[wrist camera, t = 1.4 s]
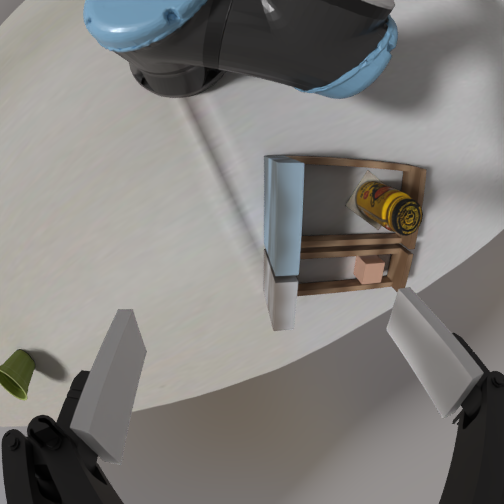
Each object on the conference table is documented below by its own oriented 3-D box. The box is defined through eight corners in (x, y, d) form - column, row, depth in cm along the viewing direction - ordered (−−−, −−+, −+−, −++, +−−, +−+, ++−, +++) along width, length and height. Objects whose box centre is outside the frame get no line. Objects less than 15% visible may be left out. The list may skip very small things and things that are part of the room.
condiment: (367, 169, 42) (408, 184, 31) (398, 196, 44) (440, 217, 33) (344, 205, 44) (379, 229, 33) (377, 229, 46) (414, 257, 35)
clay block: (356, 254, 48) (365, 264, 44) (374, 253, 48) (385, 262, 44) (353, 273, 49) (362, 284, 46) (371, 272, 50) (380, 282, 46)
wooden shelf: (408, 164, 41) (449, 176, 31) (399, 238, 47) (433, 263, 37) (264, 155, 39) (277, 162, 29) (264, 243, 45) (275, 276, 35)
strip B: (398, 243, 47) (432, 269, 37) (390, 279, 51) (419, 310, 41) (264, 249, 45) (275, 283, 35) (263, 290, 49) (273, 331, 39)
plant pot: (5, 338, 49) (-13, 364, 39) (32, 347, 51) (15, 376, 41) (19, 367, 54) (5, 393, 44) (47, 377, 56) (33, 405, 45)
